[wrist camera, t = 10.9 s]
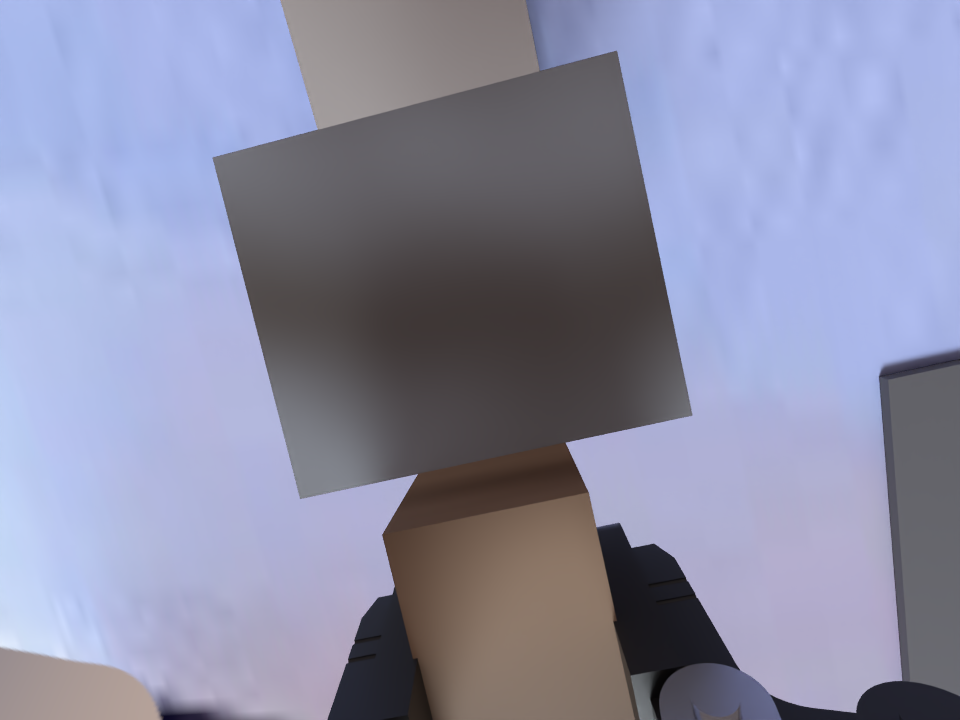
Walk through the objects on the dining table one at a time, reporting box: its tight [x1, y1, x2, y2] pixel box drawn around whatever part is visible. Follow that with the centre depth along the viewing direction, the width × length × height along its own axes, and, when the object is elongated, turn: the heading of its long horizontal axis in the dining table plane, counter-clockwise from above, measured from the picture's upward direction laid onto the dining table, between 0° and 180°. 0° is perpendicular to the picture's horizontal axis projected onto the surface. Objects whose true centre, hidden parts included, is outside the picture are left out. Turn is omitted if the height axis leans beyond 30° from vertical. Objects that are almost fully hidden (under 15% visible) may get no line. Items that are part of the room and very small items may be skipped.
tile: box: [281, 0, 540, 130], centre depth 23 cm, size 2×10×12 cm
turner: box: [213, 51, 692, 720], centre depth 9 cm, size 17×8×4 cm, turn 13°
